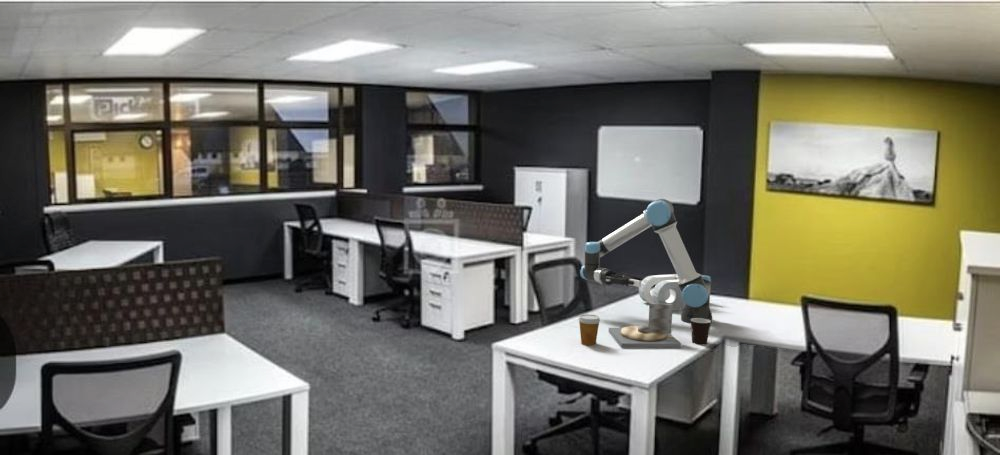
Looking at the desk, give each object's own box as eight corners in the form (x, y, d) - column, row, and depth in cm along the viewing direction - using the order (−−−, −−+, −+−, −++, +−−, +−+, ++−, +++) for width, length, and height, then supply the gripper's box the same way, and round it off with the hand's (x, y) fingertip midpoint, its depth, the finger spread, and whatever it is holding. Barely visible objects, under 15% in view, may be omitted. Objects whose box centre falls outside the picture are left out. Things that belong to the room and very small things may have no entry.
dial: (620, 339, 313) (621, 306, 311) (621, 327, 332) (622, 296, 330) (671, 342, 308) (673, 309, 307) (670, 330, 328) (671, 299, 326)
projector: (657, 311, 376) (658, 282, 374) (638, 303, 393) (639, 276, 391) (712, 306, 388) (714, 279, 386) (691, 299, 405) (693, 273, 403)
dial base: (663, 331, 334) (663, 327, 334) (680, 347, 309) (681, 342, 308) (608, 331, 333) (608, 326, 332) (621, 348, 307) (621, 342, 307)
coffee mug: (706, 346, 312) (707, 324, 310) (686, 343, 316) (688, 321, 315) (713, 340, 321) (715, 318, 320) (694, 337, 326) (695, 315, 325)
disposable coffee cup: (603, 343, 313) (604, 316, 312) (590, 347, 306) (591, 320, 305) (586, 339, 320) (586, 312, 318) (573, 343, 313) (573, 316, 311)
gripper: (614, 282, 355) (649, 290, 336) (595, 285, 348) (629, 293, 328) (615, 267, 354) (650, 274, 335) (595, 270, 347) (630, 277, 327)
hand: (640, 284), depth 331 cm, fingers closed
